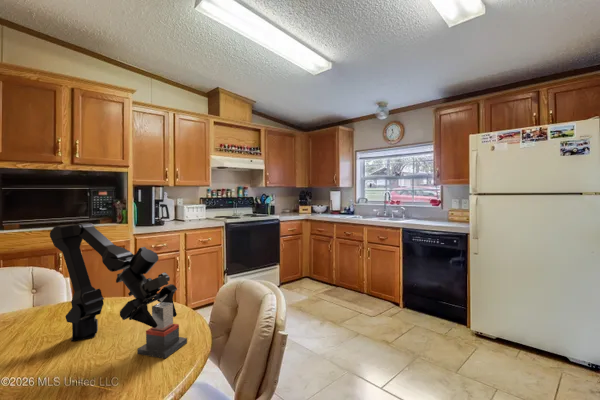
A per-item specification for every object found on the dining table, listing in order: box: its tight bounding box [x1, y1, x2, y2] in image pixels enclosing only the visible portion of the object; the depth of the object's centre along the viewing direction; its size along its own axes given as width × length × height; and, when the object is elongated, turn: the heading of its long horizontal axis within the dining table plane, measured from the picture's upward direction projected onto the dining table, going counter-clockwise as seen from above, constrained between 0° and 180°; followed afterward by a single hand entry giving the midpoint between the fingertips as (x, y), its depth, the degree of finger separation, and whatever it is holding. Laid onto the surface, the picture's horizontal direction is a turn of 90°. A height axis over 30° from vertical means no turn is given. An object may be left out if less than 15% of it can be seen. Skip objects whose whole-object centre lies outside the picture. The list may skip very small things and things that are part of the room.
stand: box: [136, 323, 188, 359], centre depth 94 cm, size 10×10×6 cm
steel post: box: [151, 302, 174, 332], centre depth 94 cm, size 4×4×12 cm
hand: (166, 321), depth 93 cm, fingers open, 8 cm apart
